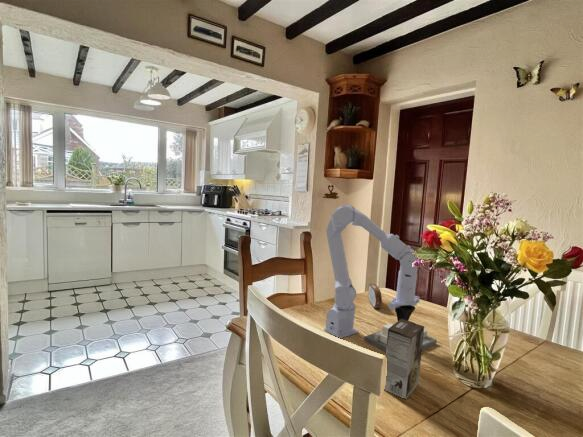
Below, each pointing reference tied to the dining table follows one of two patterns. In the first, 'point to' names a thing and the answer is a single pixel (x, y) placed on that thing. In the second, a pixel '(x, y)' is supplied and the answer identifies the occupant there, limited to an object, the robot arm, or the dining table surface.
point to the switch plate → (375, 341)
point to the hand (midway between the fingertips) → (401, 326)
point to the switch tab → (385, 333)
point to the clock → (375, 296)
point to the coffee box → (403, 357)
